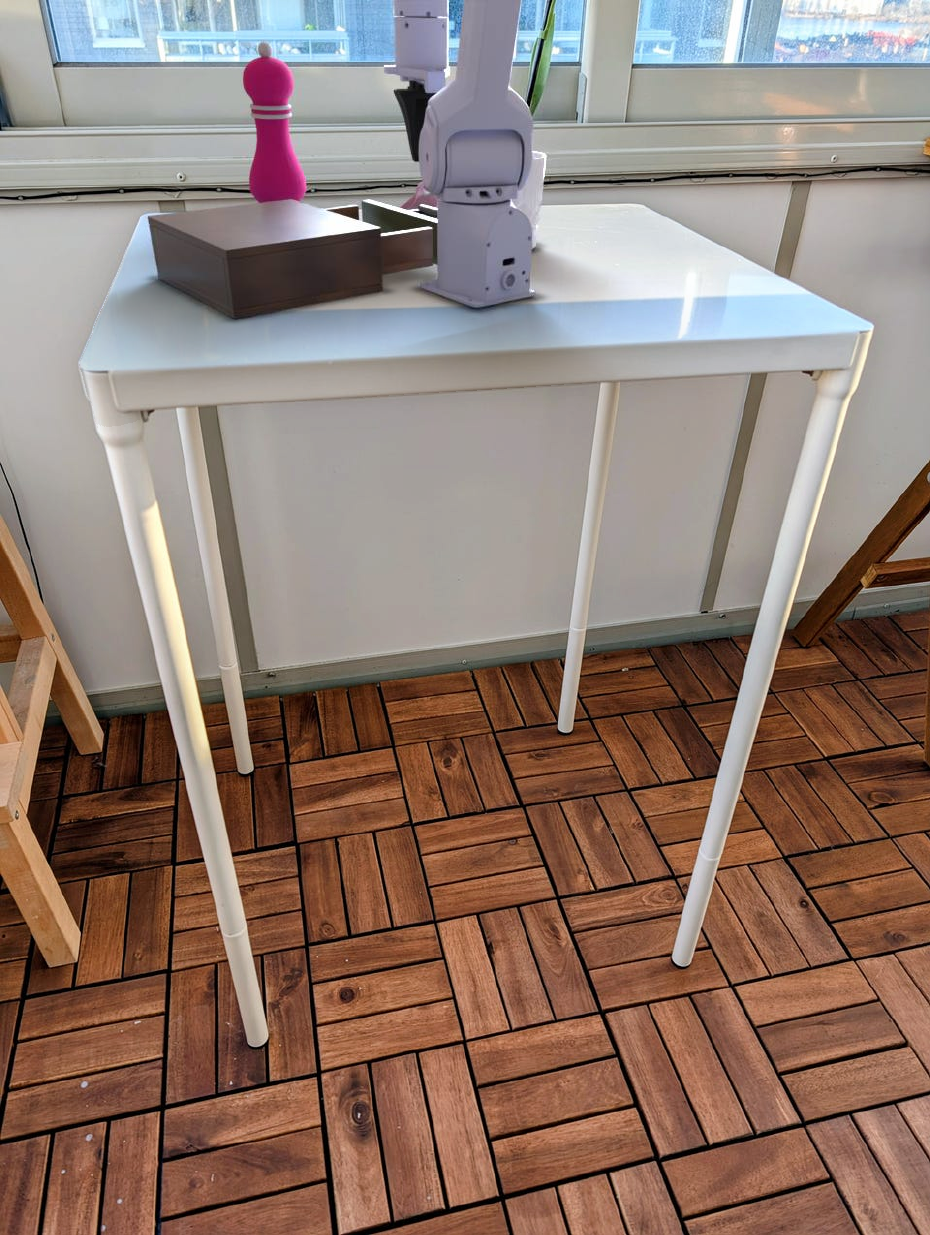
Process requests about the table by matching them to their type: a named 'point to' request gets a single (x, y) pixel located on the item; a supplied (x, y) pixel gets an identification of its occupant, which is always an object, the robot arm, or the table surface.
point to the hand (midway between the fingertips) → (422, 161)
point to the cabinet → (266, 256)
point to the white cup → (532, 193)
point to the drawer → (399, 233)
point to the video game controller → (420, 199)
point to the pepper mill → (272, 130)
